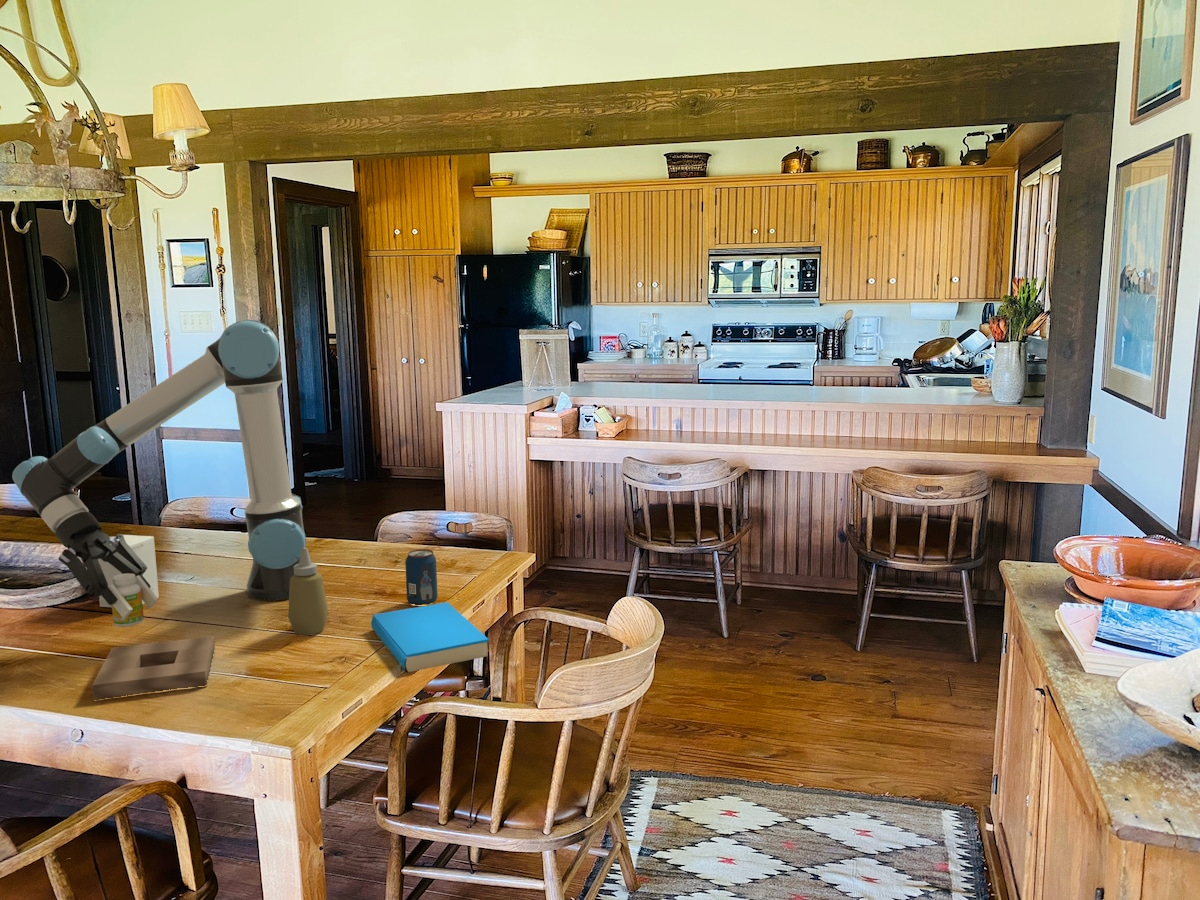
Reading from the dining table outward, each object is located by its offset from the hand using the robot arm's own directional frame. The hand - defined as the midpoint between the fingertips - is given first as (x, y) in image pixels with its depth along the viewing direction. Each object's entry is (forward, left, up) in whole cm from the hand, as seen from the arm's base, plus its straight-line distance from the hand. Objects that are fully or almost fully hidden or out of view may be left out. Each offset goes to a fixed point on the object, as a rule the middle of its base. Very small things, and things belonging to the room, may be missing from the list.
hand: (141, 608), depth 176 cm
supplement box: (+8, -32, -9) cm, 34 cm away
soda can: (-56, -9, -9) cm, 58 cm away
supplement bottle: (+3, -2, -4) cm, 5 cm away
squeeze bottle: (-31, +1, -9) cm, 33 cm away
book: (-54, +16, -9) cm, 57 cm away
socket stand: (-4, +15, -8) cm, 17 cm away
